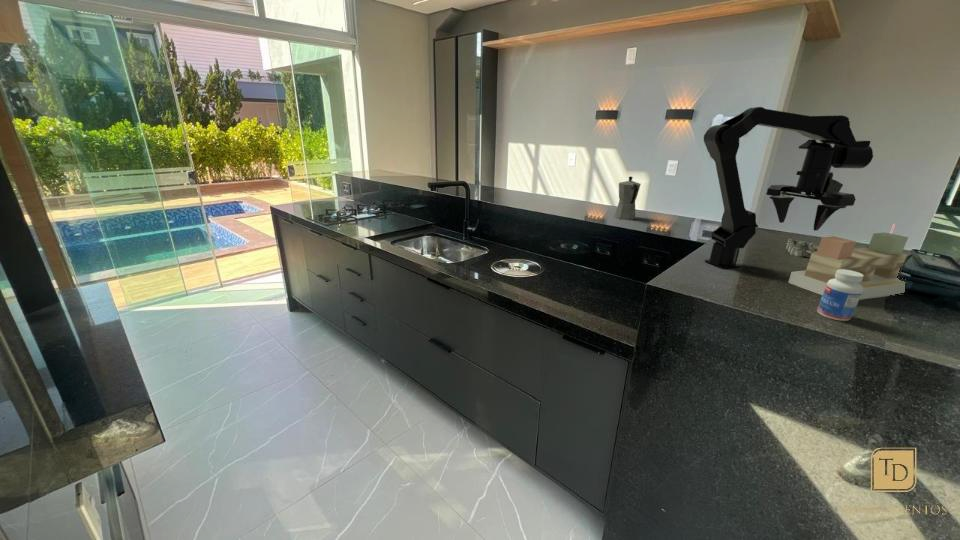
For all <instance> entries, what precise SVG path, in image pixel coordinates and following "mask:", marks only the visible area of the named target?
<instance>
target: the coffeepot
mask: <svg viewBox="0 0 960 540" xmlns="http://www.w3.org/2000/svg"><path fill="white" fill-rule="evenodd" d="M633 178H634V177H633V176H628V180H625V181H621V182H619V183H618V199H619V201H618V204H617V207H616V211H615V214H614V218H616V219H618V220H623V221H624V220H627V221H630V220H632V221H633V220H635V219H636V200H637V196H638V194H639V191H640V187H641V183H639V182H636V181H633Z"/></svg>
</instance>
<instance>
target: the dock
mask: <svg viewBox="0 0 960 540" xmlns="http://www.w3.org/2000/svg"><path fill="white" fill-rule="evenodd" d="M805 272H806V269H805V270H797V271H795V270H794V271H791V273H790V277H789V279H788V282H787V283H788V284H790V285H794V286H795V287H799V288H801V289H805V290H807V291H808V292H809V291H810V292H812V293H815V294H818V295H821V296H822V295H823V293H824V290H825V287H826V285H827V283H825V282H822V281H819V280H816V279H813V278H810V277H808V276H805ZM898 278H899V277H898ZM898 278H891V279H888V278H884V277H881V276H877V275H874V274H873V276H872V279H871V281H865V282H860V283H859V284H860V285H861V286H862V287H863V291H862V294H861V296H860V299H859V301H861V300H868V299H875V298H876V299H877V298H884V297H890V295H892V296H896V295H895V294H899V295H901V294H900V293H904V292H905V283H906V282H904V281H901V280H899V279H898Z"/></svg>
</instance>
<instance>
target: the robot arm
mask: <svg viewBox="0 0 960 540" xmlns="http://www.w3.org/2000/svg"><path fill="white" fill-rule="evenodd" d="M756 126H761V127H767V128H772V129H773V128H775V129H780V130H784V131H786V130H787V131H791V132H796V133H798V134H800V135H801V136H803V137H806V138H808V139H807V141H806V142H804V143H802V144H800V145H799V146H798V149H799V150H806V153H805V156H804V160H803V162H802V167H801V170H797V171H796V173H795V175H796V176H798V181H797V183H796V186H795V185H789V184H771V185H770V186H769V187H768V188H767V189H766V195H767V196H769V199H771V200H772V203H773V205H774V208H775V210H776V215H777V218H778V221H779V223H782V224H783V223H784V222H785V221H786V218H787V214H788V211H789V207H790V204H791V203H792V202H793V201H794V200H795V198H796V197H797V198H798V197H799V198H804V199H810V200H815V201H816V200H818V201H820V202H821V204H818V205H817V207H816V213H815V217H814V221H813V231H816V232H817V231H819V230H820V229H821V227H822V226H824V224H825V223H826V222H827V220H828V219H830V217H831V216H833V214H834V213H835V212H837V211H838V210H840V209H845V208H847V207H851V206H854V205H855V203H856V202H855V201H856V196H855V195H854V193H847V192H840V191H841V189H842V188H843V186H844V184H843V183H841V182H840V181H838V180H835V179H834V178H833V177H834V172H833V171H831V169H832V167H833V168H834V169H863V168H866V167H867V166H868V165H869V164H870V163H871V162H872V160H873V158H874V153H873V152H874V151H873V148H872V147H871V146H870V144H871V140H856V138H855V136H854V133H853V131H852V128H851V122H850V118H849V117H848V116H846V115H843V114H841V115H806V114H801V113H800V114H799V113H794V112H787V111H781V110H773V109H768V108H765V107H763V106H756V107H755V106H754V107H750V108H747V109H746V110H744V111H742V112H741V113H740V114H737V115H736V116H734V117H731V118H730V119H728V120H726V121H724V122H722V123H720V124H716V125H713V126H710V127H709V128H708V129H707V130H706V132H705V133H704V135H703V143H704V145H705V148H706V150H707V152H708V153H709V155H710V157H711V158H712V160H713V161H714V163H715V169H716V174H717V178H718V184H719V189H720V194H721V199H722V204H723V214H722V217H721V225H720V226H719V227H717V228H716V229H714V230H713V231H712V232H710V237H711V241H714V242H713V244H712V249H711V252H710V256H709V259H705V260H704V262H706V263H708V264H710V265H713V266H716V267H718V268H721V269H729V268H730V269H732V268H740V267H741V265H740V264H738V263H737V262H738V257H739V254H740V249H744V248H745V247H746V245H747V244H748V242H749V241H750V240H751V239H752V238H753V237H754V235H756V232H757V228H759V225H758V224H757V220H756V219H757V215H756V213H755V212H754V211H750V210H748V209H746V207H745V201H744V195H743V191H742V185H741V178H740V175H739V173H740V172H739V168H738V163H737V155H738V154H737V153H738V152H739V148H740V139H741V138H742V137H743V136H746V135H747V134H749V133H750V132H751V131H752V130H753V129H754V128H755V127H756ZM817 141H819V142H817ZM832 145H833V146H832Z"/></svg>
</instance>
